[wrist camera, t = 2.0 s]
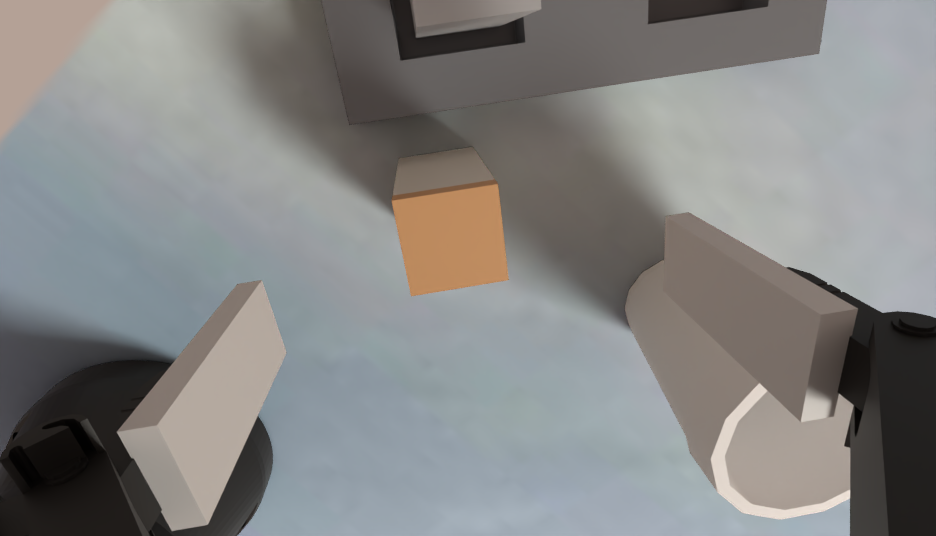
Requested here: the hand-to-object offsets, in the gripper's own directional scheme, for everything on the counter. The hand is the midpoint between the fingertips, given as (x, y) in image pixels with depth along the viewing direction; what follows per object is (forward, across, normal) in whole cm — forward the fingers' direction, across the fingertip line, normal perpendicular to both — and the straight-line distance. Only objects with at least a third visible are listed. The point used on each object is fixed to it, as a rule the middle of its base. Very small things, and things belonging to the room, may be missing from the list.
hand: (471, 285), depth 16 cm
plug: (+13, 0, 0) cm, 13 cm away
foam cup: (+14, +14, -10) cm, 22 cm away
